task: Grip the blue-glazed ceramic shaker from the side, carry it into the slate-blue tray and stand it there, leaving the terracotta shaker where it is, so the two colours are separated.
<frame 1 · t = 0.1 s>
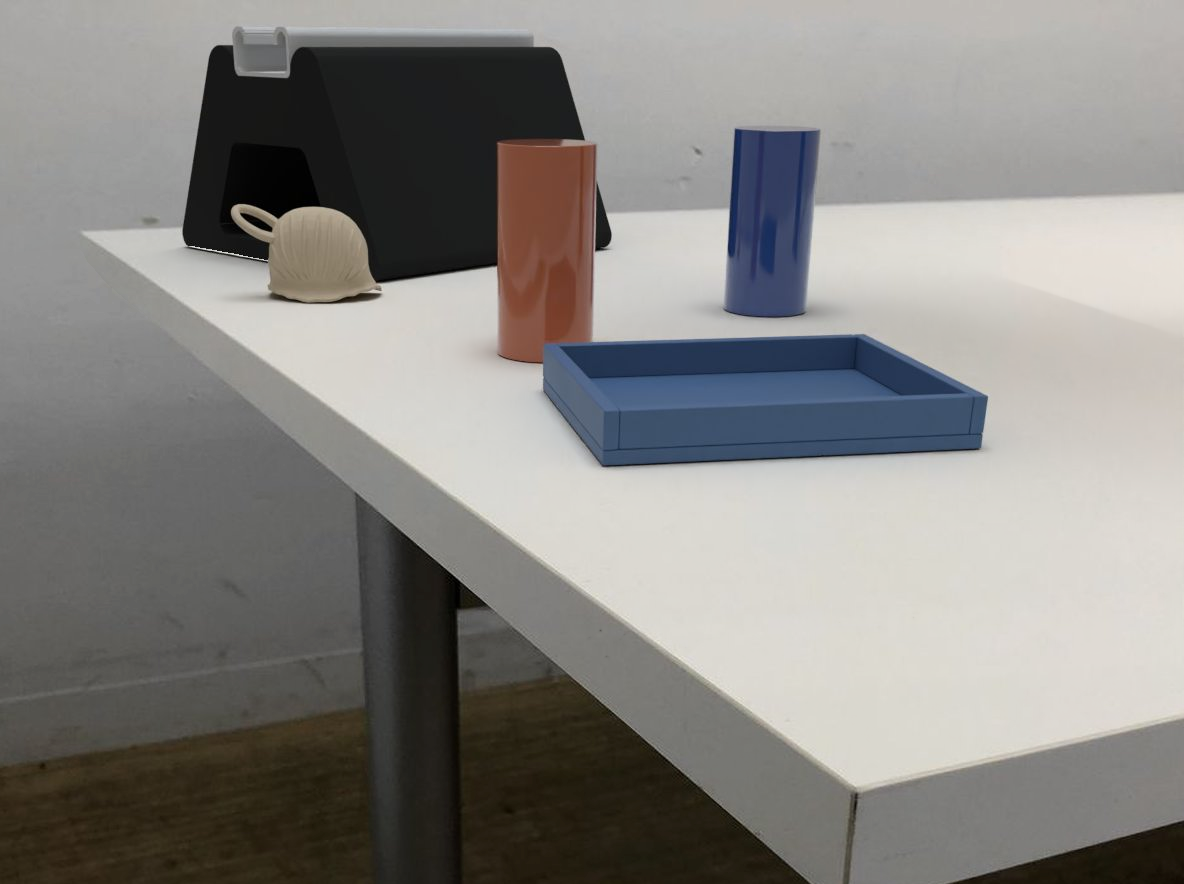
blue tray: (746, 417, 59), on the table
decorative ornament: (312, 299, 85), on the table
blue shaker: (764, 309, 82), on the table
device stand: (398, 250, 104), on the table
terracotta shaker: (545, 352, 70), on the table
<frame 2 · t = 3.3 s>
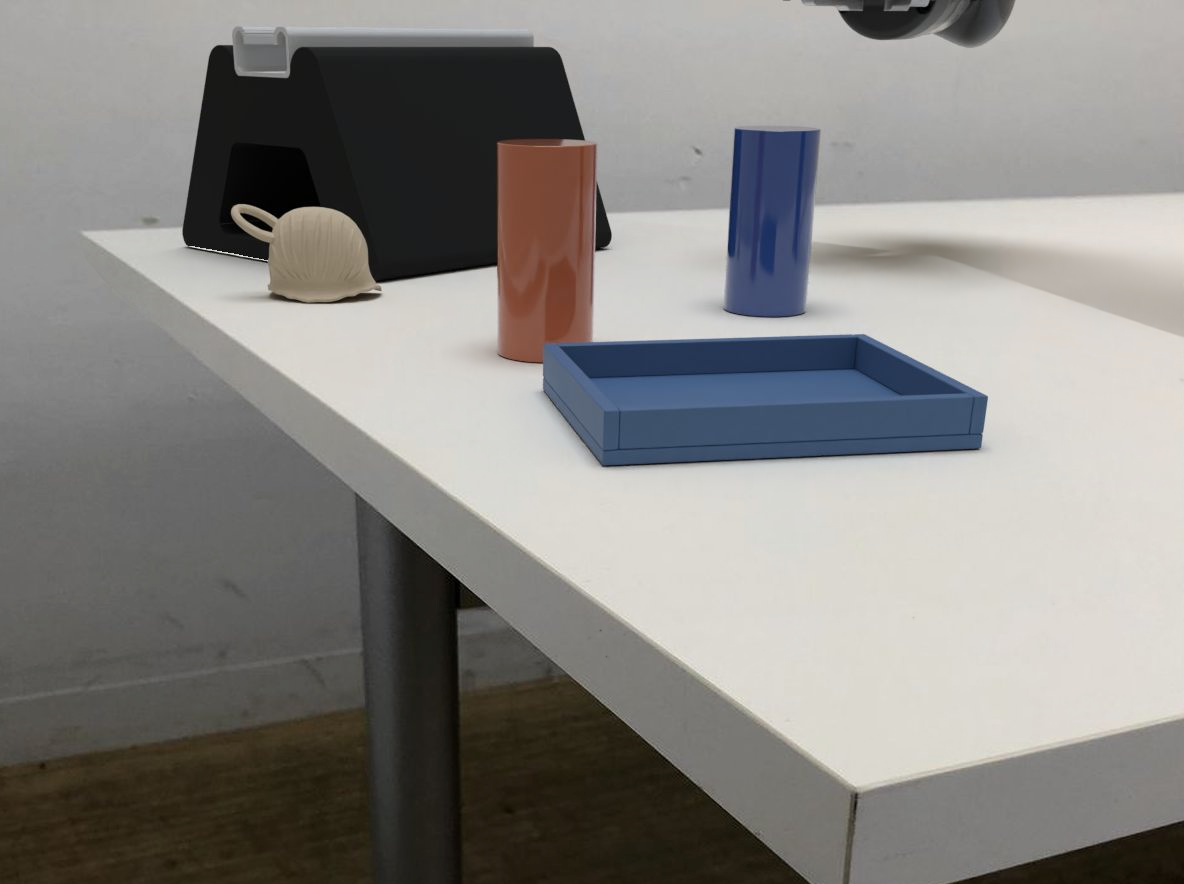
nothing on the table moved.
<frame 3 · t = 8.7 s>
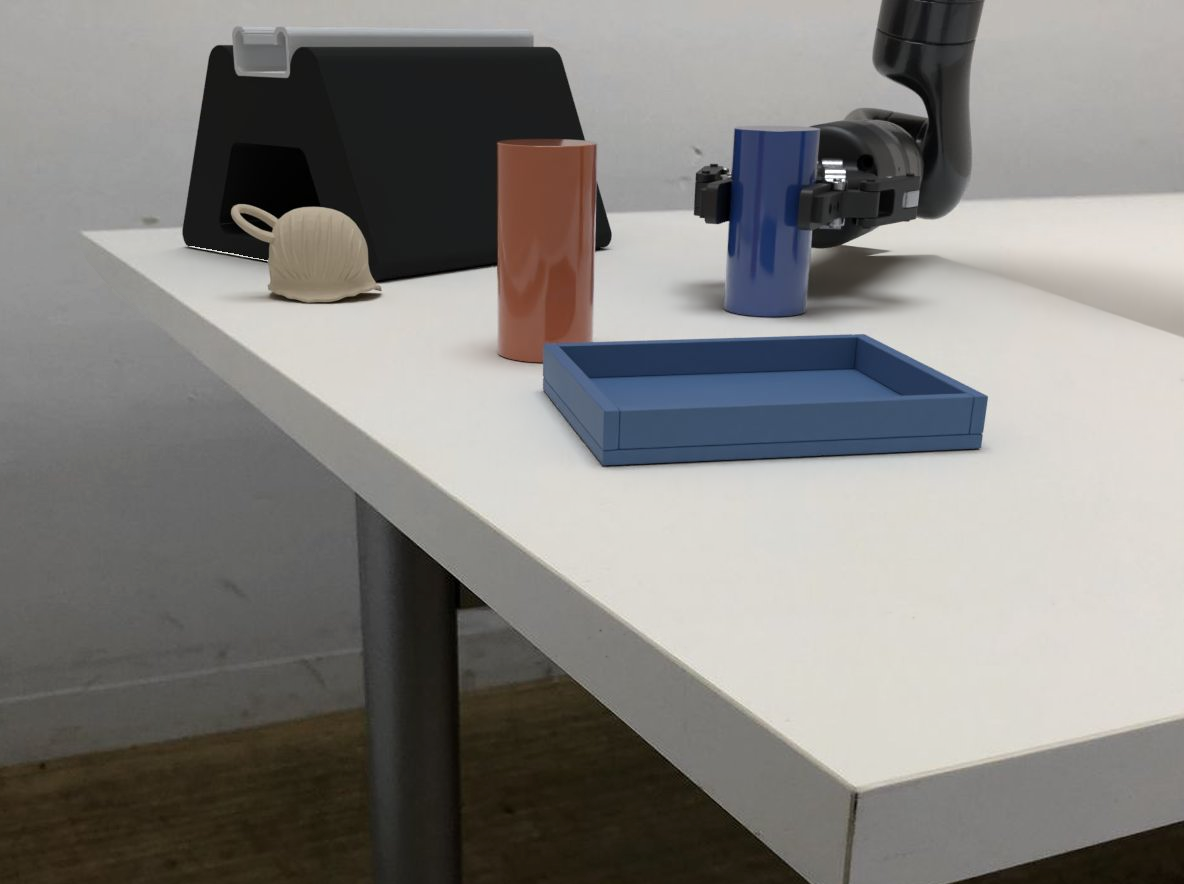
hand: (757, 207, 77), 6 cm above the table, tool horizontal, fingers closed on blue shaker, 4 cm apart
blue shaker: (764, 309, 82), on the table, touching gripper
everything else where it was.
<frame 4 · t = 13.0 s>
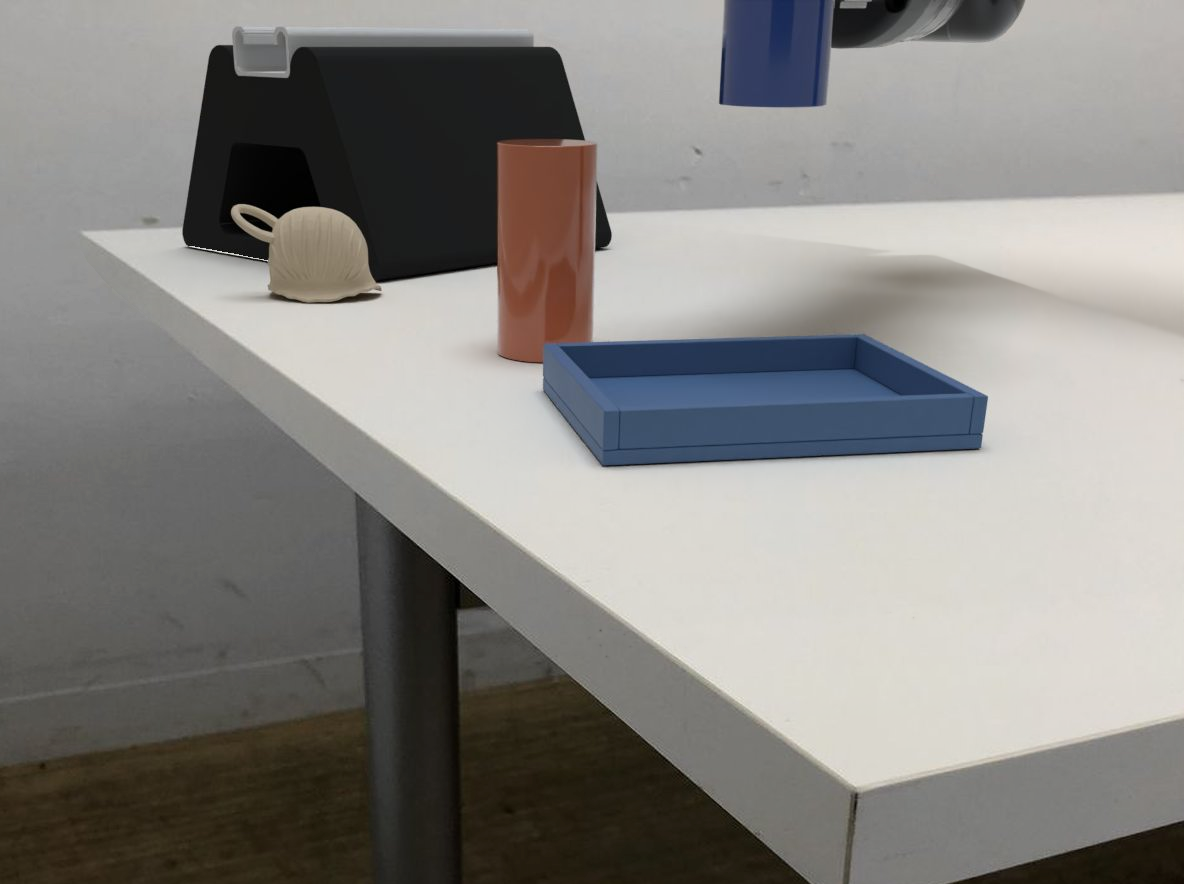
blue shaker: (772, 104, 62), point 12 cm above the table, touching gripper
everything else where it was.
when the fingers open (7 cm above the table, at t = 17.7 s): blue shaker stays where it is, resting on blue tray.
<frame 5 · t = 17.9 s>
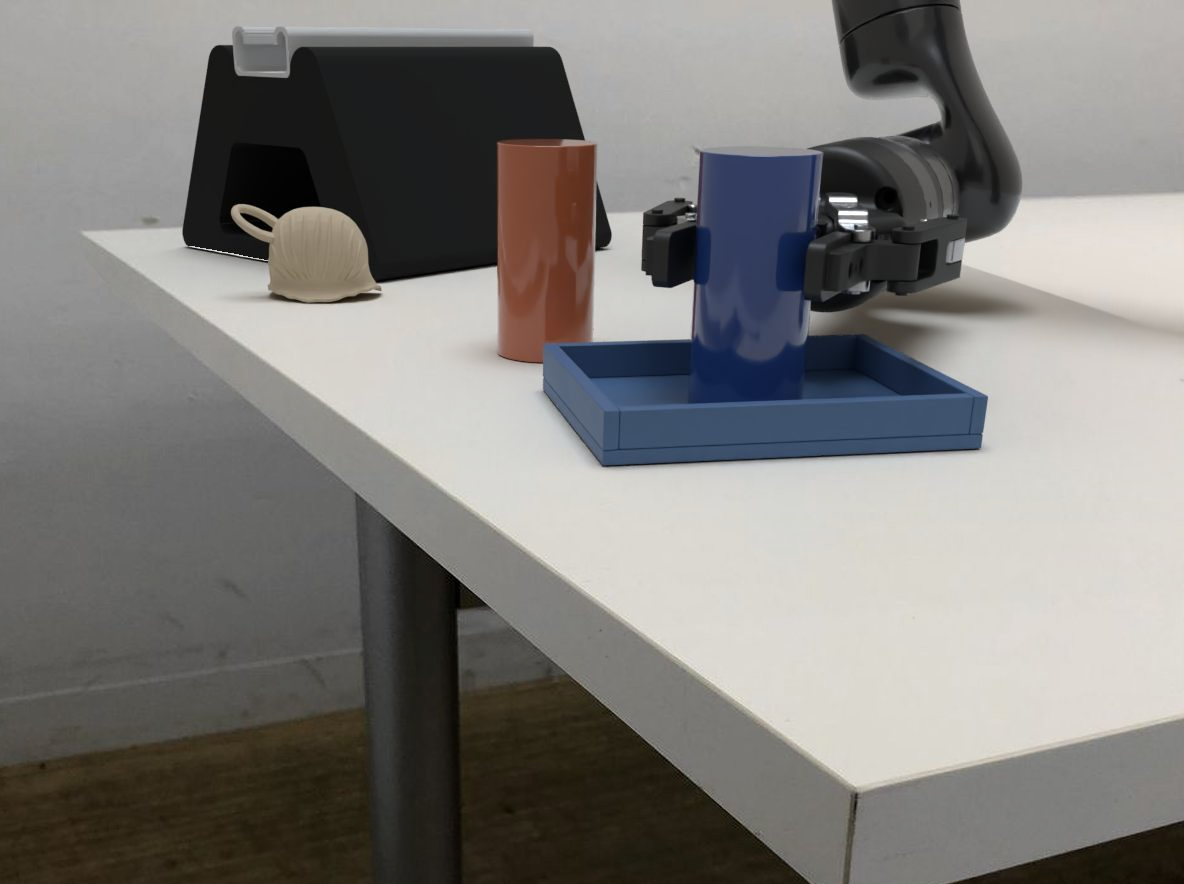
hand: (736, 266, 54), 7 cm above the table, tool horizontal, fingers open, 5 cm apart
blue shaker: (744, 402, 58), point 1 cm above the table, touching blue tray
everything else where it was.
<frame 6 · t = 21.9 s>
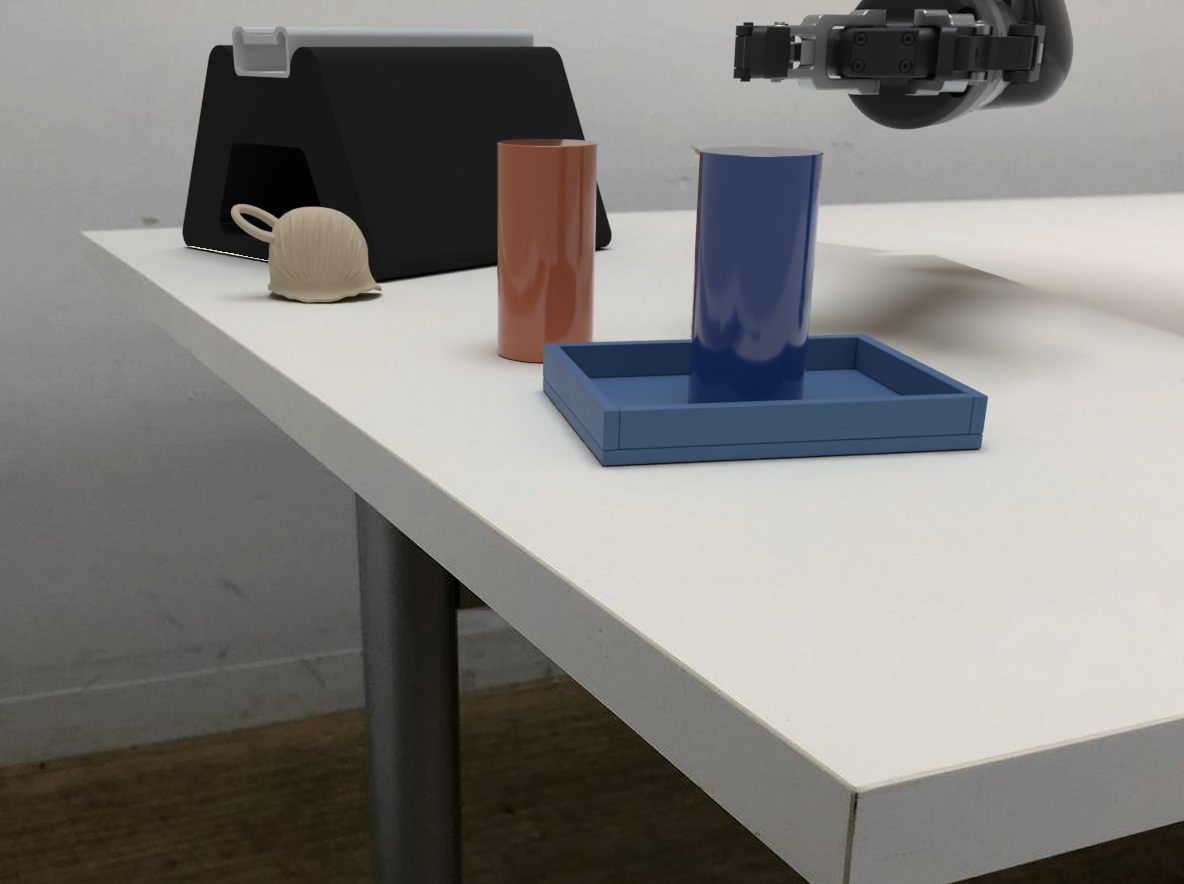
hand: (849, 53, 62), 14 cm above the table, tool horizontal, fingers open, 8 cm apart
nothing on the table moved.
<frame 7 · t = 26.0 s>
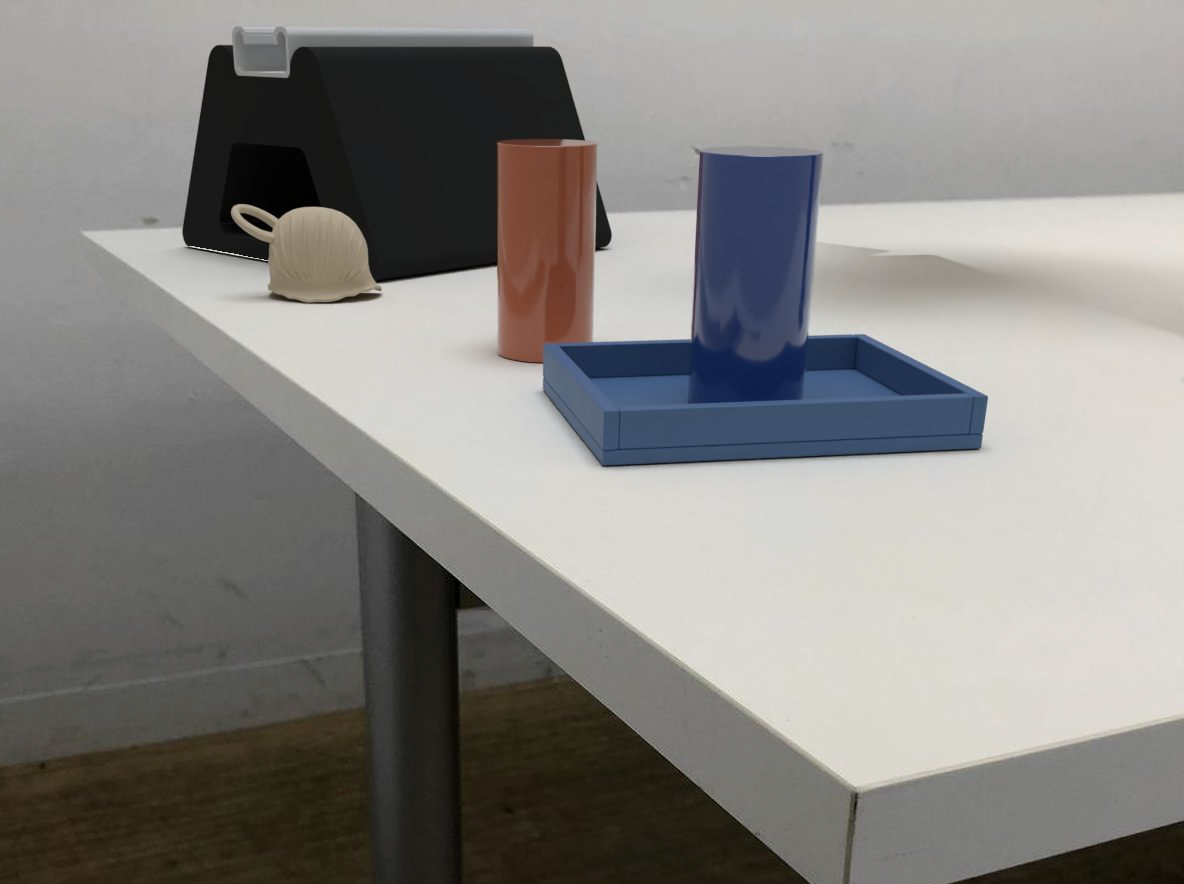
nothing on the table moved.
at the end: blue shaker inside the target area in the blue tray (0.1 cm from its centre), point 0.6 cm above the blue tray's base; blue shaker tilted 0°; terracotta shaker moved 0.0 cm from its start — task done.
